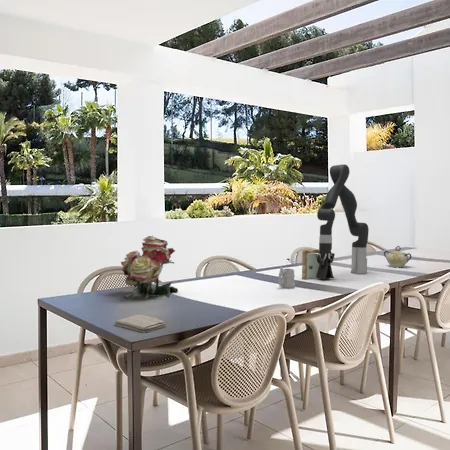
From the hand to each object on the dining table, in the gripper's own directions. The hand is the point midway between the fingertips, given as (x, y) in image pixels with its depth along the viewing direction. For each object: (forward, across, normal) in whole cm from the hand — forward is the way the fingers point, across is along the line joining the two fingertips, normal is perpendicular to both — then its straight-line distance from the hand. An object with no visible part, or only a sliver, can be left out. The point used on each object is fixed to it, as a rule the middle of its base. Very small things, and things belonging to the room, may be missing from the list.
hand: (324, 270), depth 300 cm
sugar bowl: (+6, -83, -15) cm, 84 cm away
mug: (+6, +37, +9) cm, 39 cm away
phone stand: (+5, 0, 0) cm, 5 cm away
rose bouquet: (+6, +111, -8) cm, 112 cm away
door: (+5, +1, -6) cm, 8 cm away
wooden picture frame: (+6, +1, -7) cm, 9 cm away
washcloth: (+6, +136, +44) cm, 143 cm away
